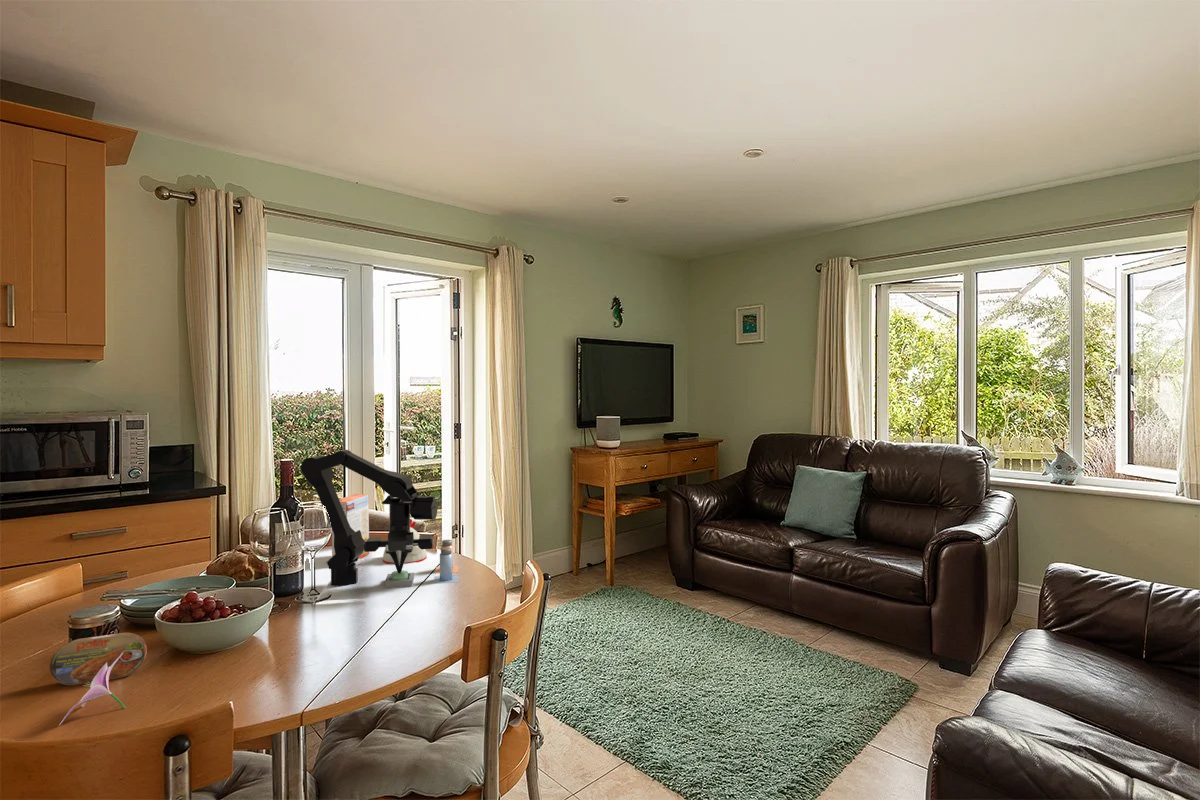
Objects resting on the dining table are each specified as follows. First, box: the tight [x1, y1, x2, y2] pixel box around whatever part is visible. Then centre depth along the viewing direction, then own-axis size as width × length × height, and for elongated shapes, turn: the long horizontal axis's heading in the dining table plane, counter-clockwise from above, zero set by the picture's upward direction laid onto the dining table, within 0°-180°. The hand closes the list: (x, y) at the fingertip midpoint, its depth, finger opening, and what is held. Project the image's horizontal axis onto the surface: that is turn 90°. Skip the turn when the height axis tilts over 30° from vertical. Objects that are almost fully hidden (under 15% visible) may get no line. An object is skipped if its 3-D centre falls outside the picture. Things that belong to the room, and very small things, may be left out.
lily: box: [59, 653, 126, 725], centre depth 109 cm, size 12×12×10 cm
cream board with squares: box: [384, 565, 459, 589], centre depth 184 cm, size 22×19×3 cm
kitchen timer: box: [382, 518, 428, 565], centre depth 203 cm, size 14×14×15 cm
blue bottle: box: [439, 548, 453, 581], centre depth 181 cm, size 4×4×9 cm
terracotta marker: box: [440, 539, 454, 570], centre depth 191 cm, size 4×4×9 cm
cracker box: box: [331, 493, 370, 560], centre depth 205 cm, size 14×6×21 cm, turn 172°
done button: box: [390, 569, 409, 580], centre depth 177 cm, size 5×5×3 cm
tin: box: [49, 632, 148, 686], centre depth 121 cm, size 15×3×8 cm, turn 114°
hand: (399, 572), depth 177 cm, fingers closed, pressing on done button
